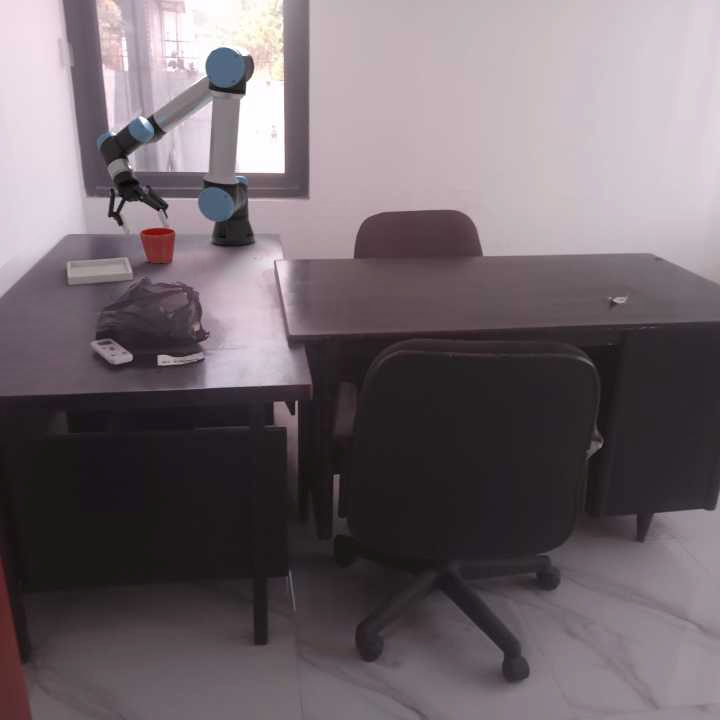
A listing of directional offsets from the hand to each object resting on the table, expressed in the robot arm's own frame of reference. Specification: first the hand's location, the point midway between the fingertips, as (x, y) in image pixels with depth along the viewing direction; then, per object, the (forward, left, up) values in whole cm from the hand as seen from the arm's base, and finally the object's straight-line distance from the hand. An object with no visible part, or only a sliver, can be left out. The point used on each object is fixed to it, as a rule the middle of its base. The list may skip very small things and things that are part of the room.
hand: (148, 230), depth 239 cm
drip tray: (+16, +14, -9) cm, 23 cm away
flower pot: (-3, +4, -9) cm, 10 cm away
